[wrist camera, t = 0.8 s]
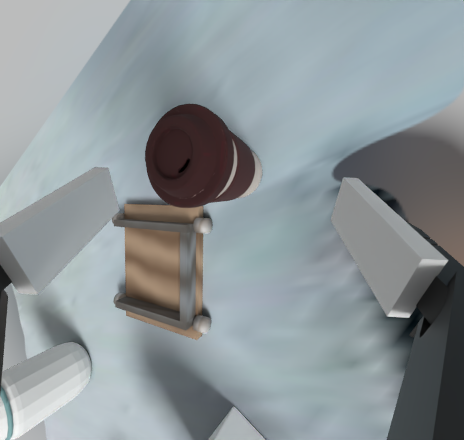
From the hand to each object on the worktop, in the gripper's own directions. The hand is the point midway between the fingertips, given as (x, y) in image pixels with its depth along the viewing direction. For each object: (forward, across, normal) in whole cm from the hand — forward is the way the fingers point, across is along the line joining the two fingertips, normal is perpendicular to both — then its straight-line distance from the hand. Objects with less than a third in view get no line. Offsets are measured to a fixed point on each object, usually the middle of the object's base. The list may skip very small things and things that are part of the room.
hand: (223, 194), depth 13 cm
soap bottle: (+16, -36, -54) cm, 67 cm away
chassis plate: (+19, -12, -24) cm, 33 cm away
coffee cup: (+21, +1, -6) cm, 22 cm away
